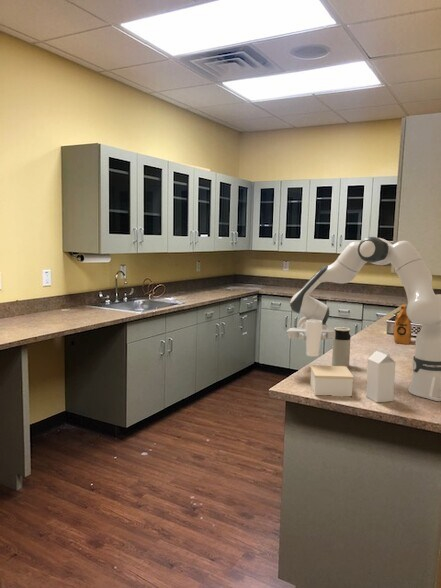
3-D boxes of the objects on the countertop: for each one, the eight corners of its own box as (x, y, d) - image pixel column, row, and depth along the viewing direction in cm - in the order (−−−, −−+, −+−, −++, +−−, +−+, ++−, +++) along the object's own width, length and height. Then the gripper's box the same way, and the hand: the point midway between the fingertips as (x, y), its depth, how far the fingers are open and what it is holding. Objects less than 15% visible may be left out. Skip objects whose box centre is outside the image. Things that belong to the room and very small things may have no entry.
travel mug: (349, 368, 217) (351, 330, 215) (332, 367, 219) (333, 329, 217) (348, 363, 225) (350, 327, 223) (331, 362, 227) (333, 326, 224)
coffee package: (391, 343, 271) (393, 306, 268) (393, 339, 282) (395, 303, 280) (409, 345, 267) (412, 307, 264) (411, 341, 278) (413, 304, 275)
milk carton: (376, 403, 172) (379, 352, 169) (365, 396, 178) (368, 348, 176) (393, 401, 174) (396, 351, 171) (382, 395, 180) (384, 347, 178)
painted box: (345, 385, 192) (346, 366, 191) (352, 397, 178) (353, 376, 177) (309, 383, 193) (310, 365, 192) (314, 395, 179) (315, 375, 178)
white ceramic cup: (318, 353, 200) (320, 319, 199) (322, 357, 194) (324, 322, 192) (302, 353, 200) (304, 319, 198) (306, 357, 193) (308, 322, 192)
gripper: (286, 323, 209) (288, 329, 195) (332, 324, 208) (337, 330, 194) (285, 337, 210) (288, 344, 196) (331, 338, 208) (337, 345, 195)
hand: (313, 337), depth 195 cm, fingers closed on white ceramic cup, 6 cm apart
